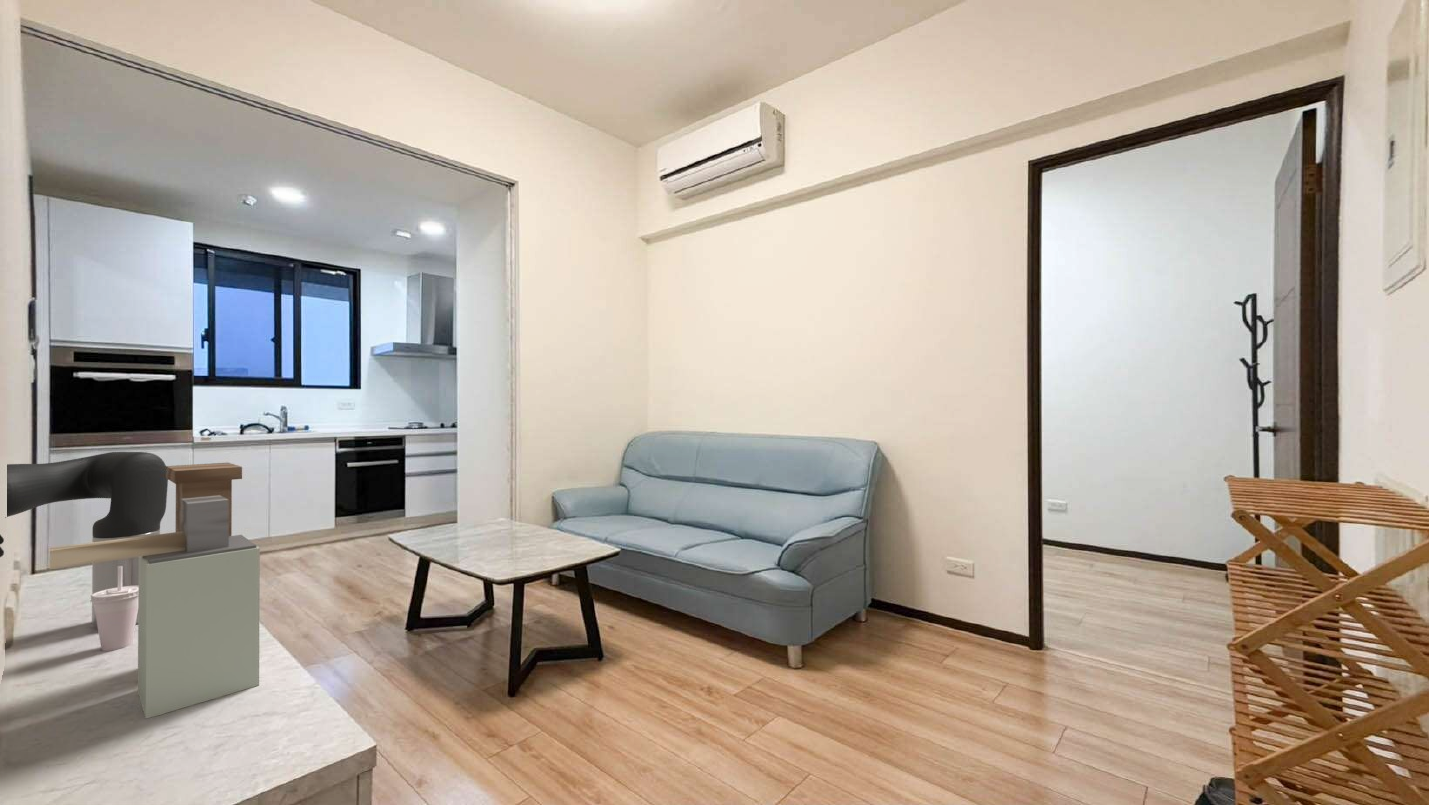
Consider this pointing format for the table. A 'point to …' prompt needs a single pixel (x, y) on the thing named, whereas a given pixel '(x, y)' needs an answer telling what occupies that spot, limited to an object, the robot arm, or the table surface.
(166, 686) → the sage cabinet
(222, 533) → the hammer
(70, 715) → the table surface
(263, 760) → the table surface
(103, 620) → the smoothie
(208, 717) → the table surface
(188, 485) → the wooden t-shaped stand
